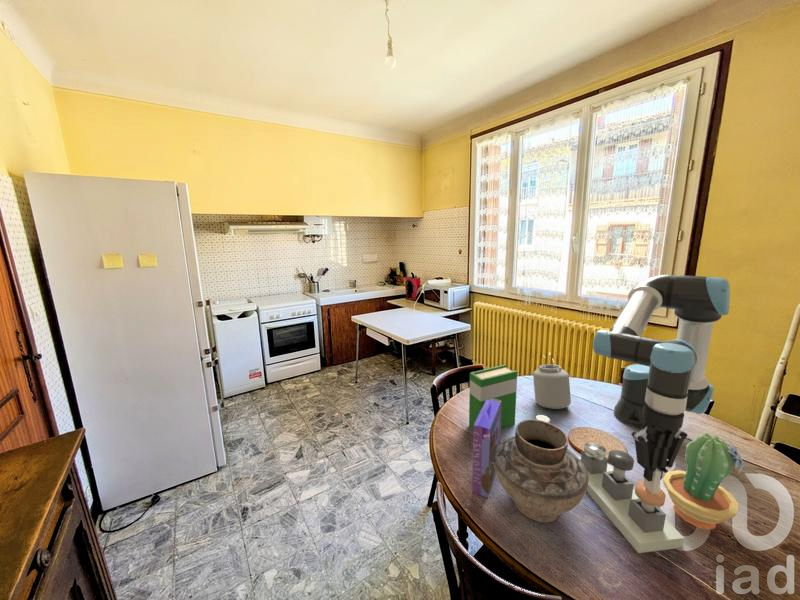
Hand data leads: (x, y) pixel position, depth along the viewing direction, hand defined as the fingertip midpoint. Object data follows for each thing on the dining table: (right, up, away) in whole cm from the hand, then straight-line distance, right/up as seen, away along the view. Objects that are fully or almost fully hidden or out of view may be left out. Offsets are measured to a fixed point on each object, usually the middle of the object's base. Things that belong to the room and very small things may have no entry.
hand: (650, 489), depth 81 cm
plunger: (-1, -6, +22) cm, 22 cm away
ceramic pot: (-24, -12, +13) cm, 30 cm away
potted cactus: (+18, -12, +7) cm, 23 cm away
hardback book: (-26, -4, +51) cm, 57 cm away
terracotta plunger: (0, -7, +2) cm, 7 cm away
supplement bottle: (-12, -7, +35) cm, 38 cm away
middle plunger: (-1, -3, +11) cm, 11 cm away
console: (0, -11, +13) cm, 17 cm away
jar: (+5, 0, +65) cm, 65 cm away
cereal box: (-36, -10, +24) cm, 44 cm away
